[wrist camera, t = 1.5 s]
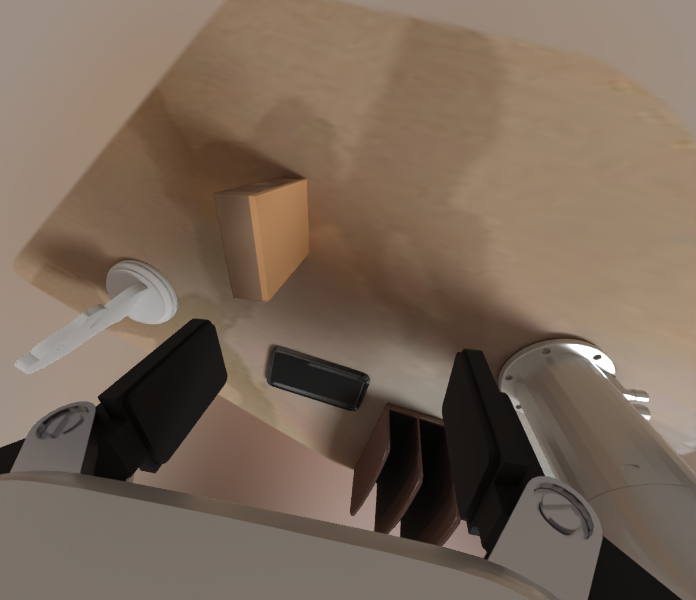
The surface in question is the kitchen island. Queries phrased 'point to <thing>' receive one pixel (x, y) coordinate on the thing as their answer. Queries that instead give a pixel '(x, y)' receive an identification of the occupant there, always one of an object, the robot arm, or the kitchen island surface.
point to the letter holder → (408, 477)
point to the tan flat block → (263, 234)
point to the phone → (317, 379)
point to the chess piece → (110, 312)
